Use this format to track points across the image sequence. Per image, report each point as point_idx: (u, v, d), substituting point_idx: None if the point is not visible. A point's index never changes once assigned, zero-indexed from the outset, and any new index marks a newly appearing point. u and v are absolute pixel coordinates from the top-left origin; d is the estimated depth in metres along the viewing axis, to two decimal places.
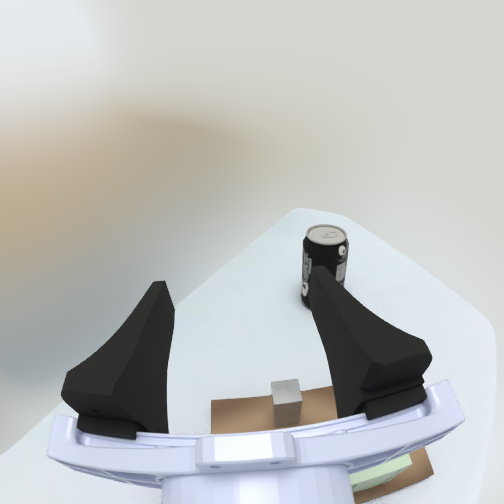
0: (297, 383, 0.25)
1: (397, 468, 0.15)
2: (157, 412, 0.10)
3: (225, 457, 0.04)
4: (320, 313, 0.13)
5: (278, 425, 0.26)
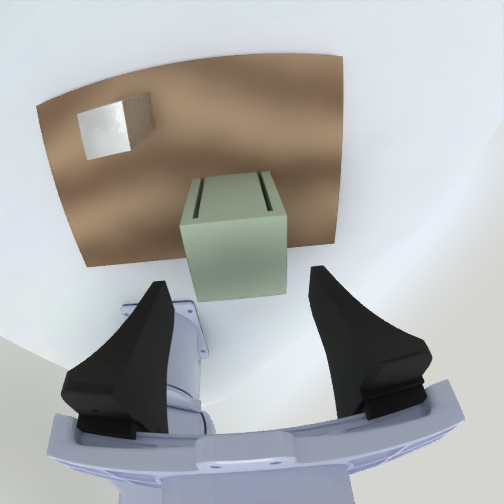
0: (121, 112, 0.11)
1: (264, 294, 0.17)
2: (157, 412, 0.10)
3: (225, 457, 0.04)
4: (320, 313, 0.13)
5: None
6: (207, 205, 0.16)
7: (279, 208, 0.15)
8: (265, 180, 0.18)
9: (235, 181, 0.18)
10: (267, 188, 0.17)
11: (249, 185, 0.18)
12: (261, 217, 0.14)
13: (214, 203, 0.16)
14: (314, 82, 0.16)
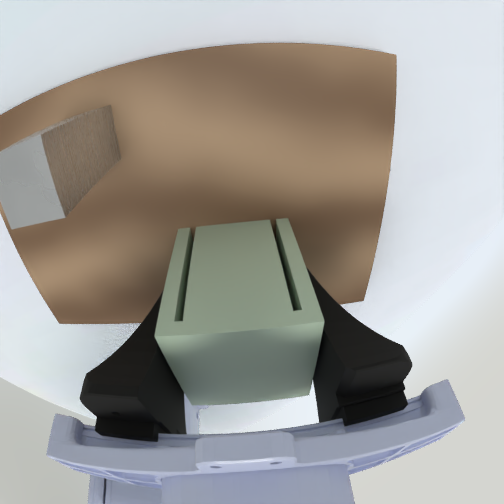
0: (42, 155, 0.06)
1: (279, 397, 0.12)
2: (176, 413, 0.10)
3: (225, 457, 0.04)
4: None
5: None
6: (197, 292, 0.10)
7: (311, 304, 0.09)
8: (284, 238, 0.13)
9: (239, 238, 0.13)
10: (288, 255, 0.12)
11: (260, 248, 0.12)
12: (284, 326, 0.09)
13: (208, 288, 0.10)
14: (357, 90, 0.10)
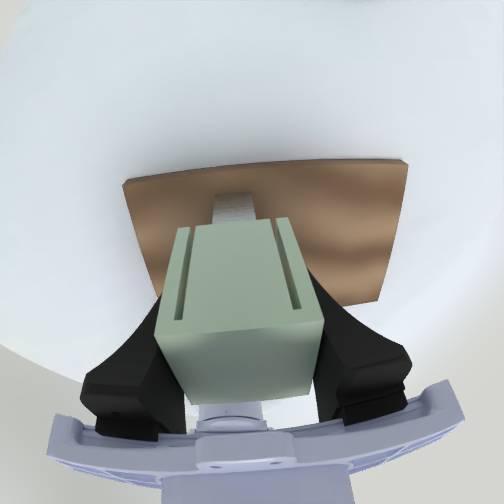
0: None
1: (279, 397, 0.12)
2: (176, 413, 0.10)
3: (225, 457, 0.04)
4: None
5: None
6: (197, 291, 0.10)
7: (311, 303, 0.09)
8: (283, 237, 0.13)
9: (239, 237, 0.13)
10: (287, 253, 0.12)
11: (260, 247, 0.12)
12: (284, 324, 0.09)
13: (207, 287, 0.10)
14: (384, 187, 0.21)
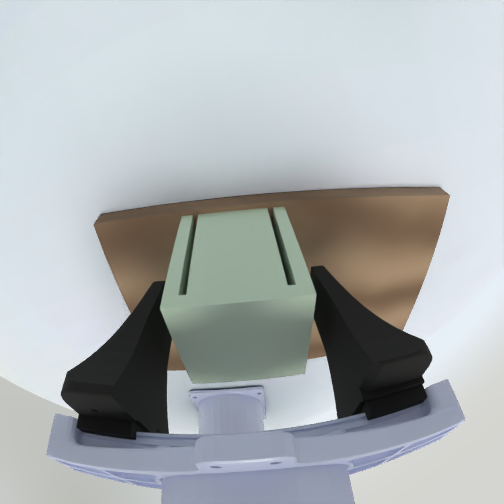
0: None
1: (276, 375, 0.13)
2: (157, 412, 0.10)
3: (225, 457, 0.04)
4: (320, 313, 0.13)
5: None
6: (200, 270, 0.11)
7: (304, 279, 0.10)
8: (280, 223, 0.14)
9: (239, 224, 0.14)
10: (283, 238, 0.13)
11: (258, 232, 0.13)
12: (279, 298, 0.10)
13: (209, 266, 0.11)
14: (421, 223, 0.16)
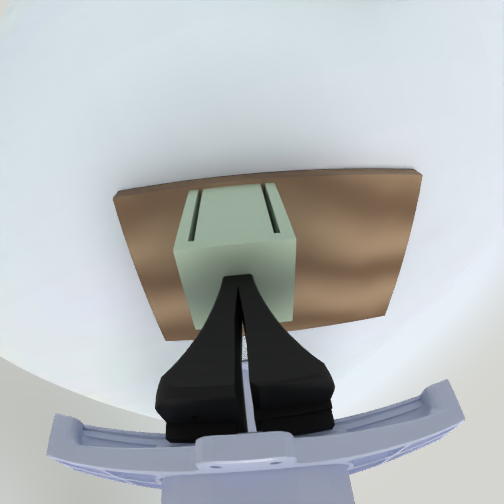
0: None
1: None
2: (244, 410, 0.10)
3: (225, 457, 0.04)
4: (243, 322, 0.13)
5: None
6: (205, 225, 0.14)
7: (287, 229, 0.13)
8: (270, 194, 0.16)
9: (236, 194, 0.17)
10: (272, 203, 0.15)
11: (252, 200, 0.16)
12: (267, 241, 0.13)
13: (212, 222, 0.14)
14: (396, 199, 0.19)
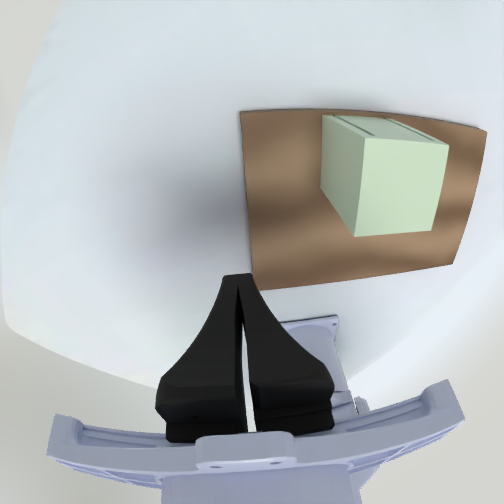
0: None
1: (414, 230, 0.15)
2: (244, 410, 0.10)
3: (225, 457, 0.04)
4: (243, 322, 0.13)
5: None
6: (371, 130, 0.13)
7: (437, 140, 0.12)
8: (398, 123, 0.16)
9: (371, 120, 0.16)
10: (407, 127, 0.15)
11: (389, 124, 0.15)
12: (432, 143, 0.12)
13: (376, 129, 0.13)
14: (471, 149, 0.18)
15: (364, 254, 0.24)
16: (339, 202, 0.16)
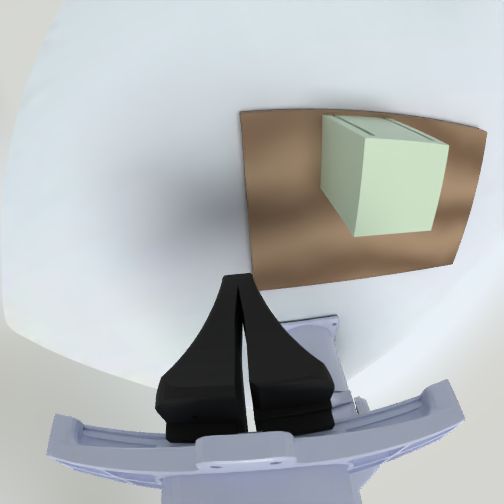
0: None
1: (414, 230, 0.15)
2: (244, 410, 0.10)
3: (225, 457, 0.04)
4: (243, 322, 0.13)
5: None
6: (371, 130, 0.13)
7: (437, 140, 0.12)
8: (398, 123, 0.16)
9: (371, 120, 0.16)
10: (407, 127, 0.15)
11: (389, 124, 0.15)
12: (432, 143, 0.12)
13: (376, 129, 0.13)
14: (470, 150, 0.18)
15: (364, 254, 0.24)
16: (339, 202, 0.16)
